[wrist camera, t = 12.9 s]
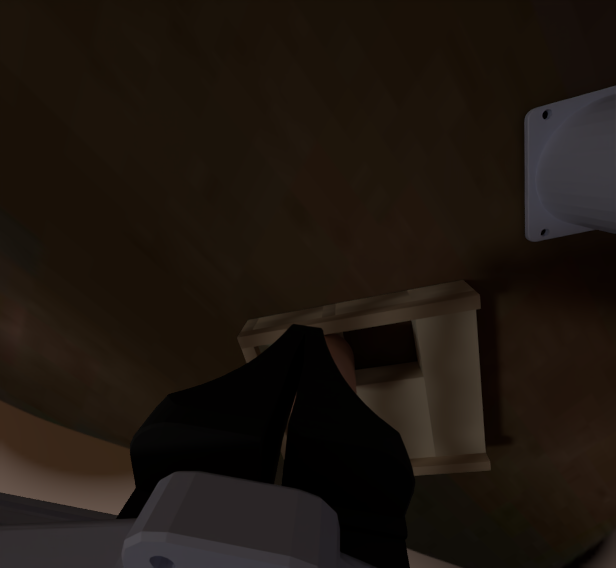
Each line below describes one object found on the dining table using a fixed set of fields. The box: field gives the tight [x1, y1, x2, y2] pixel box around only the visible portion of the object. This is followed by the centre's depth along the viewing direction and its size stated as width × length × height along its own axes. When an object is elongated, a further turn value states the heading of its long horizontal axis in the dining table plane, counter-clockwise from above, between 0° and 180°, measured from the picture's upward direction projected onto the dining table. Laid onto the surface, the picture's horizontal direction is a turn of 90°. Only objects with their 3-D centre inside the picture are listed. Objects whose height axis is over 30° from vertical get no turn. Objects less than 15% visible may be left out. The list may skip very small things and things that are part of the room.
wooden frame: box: [237, 280, 491, 476], centre depth 24 cm, size 17×16×3 cm
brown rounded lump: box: [291, 333, 357, 412], centre depth 21 cm, size 5×5×4 cm
